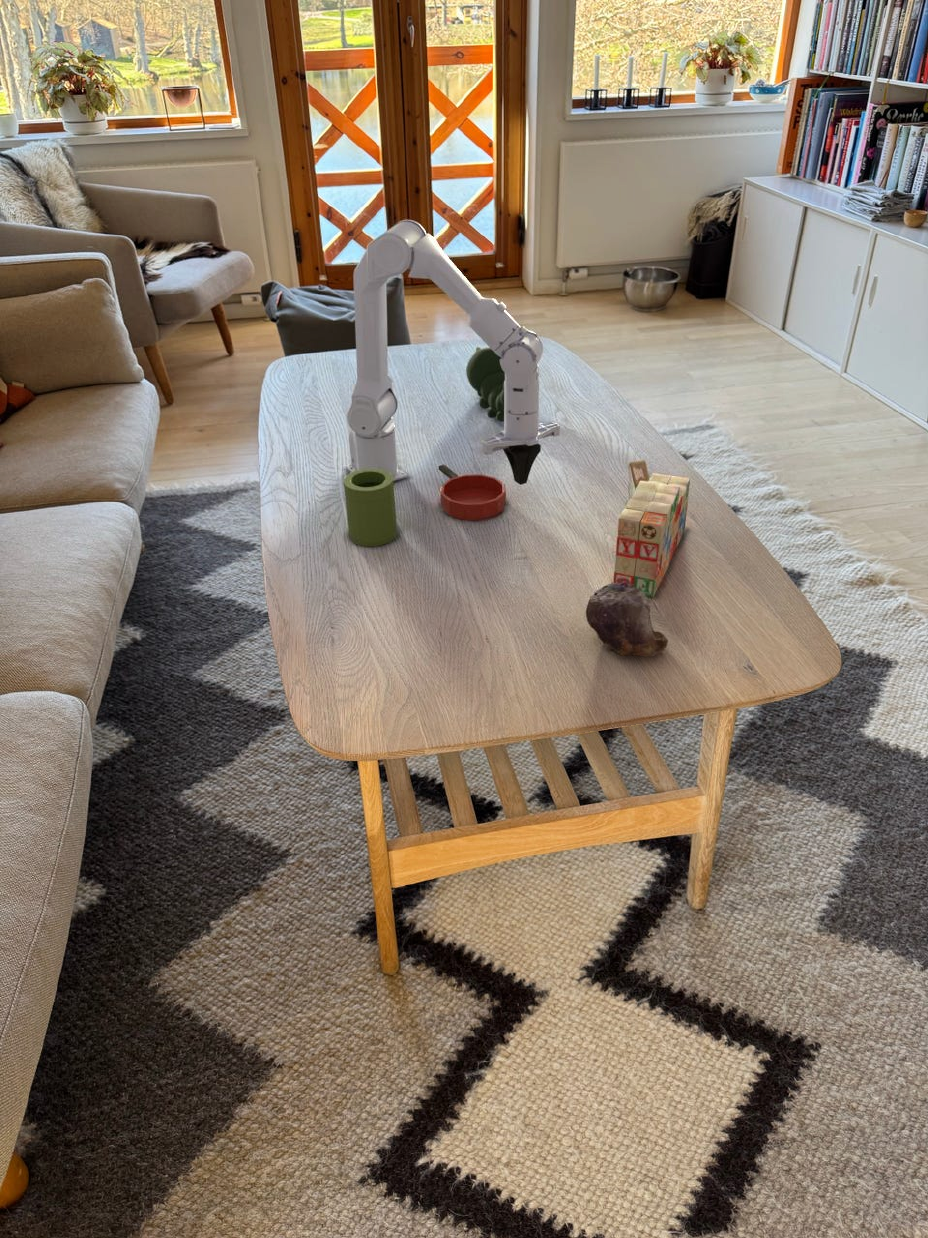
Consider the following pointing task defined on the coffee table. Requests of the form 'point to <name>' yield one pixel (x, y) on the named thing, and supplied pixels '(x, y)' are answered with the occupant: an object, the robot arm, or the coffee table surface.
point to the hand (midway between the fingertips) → (520, 481)
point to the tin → (637, 475)
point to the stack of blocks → (651, 531)
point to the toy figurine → (487, 381)
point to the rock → (624, 620)
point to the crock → (370, 506)
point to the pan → (472, 495)
